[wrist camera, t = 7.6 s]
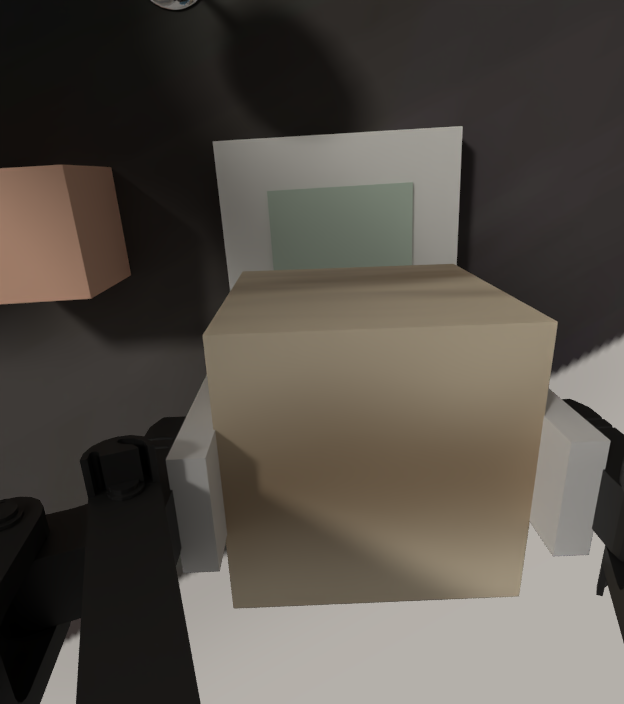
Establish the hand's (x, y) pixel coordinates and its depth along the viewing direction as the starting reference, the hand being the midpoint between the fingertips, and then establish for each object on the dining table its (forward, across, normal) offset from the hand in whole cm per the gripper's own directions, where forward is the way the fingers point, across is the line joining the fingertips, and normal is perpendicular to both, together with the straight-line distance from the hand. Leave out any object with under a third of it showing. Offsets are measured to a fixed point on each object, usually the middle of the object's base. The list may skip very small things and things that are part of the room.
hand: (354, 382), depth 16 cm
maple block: (+2, 0, 0) cm, 2 cm away
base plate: (+19, +1, +1) cm, 19 cm away
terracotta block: (+19, -17, +4) cm, 26 cm away
